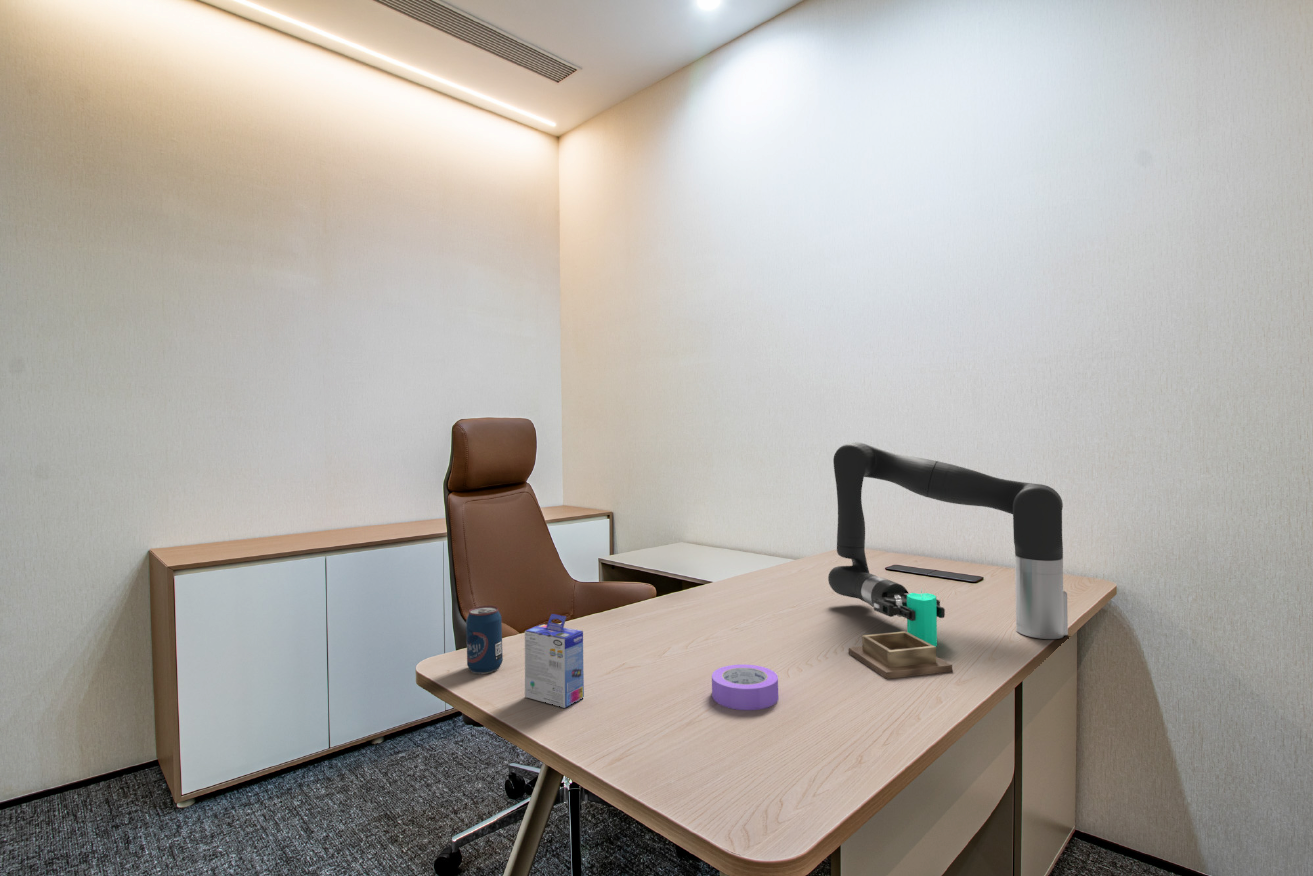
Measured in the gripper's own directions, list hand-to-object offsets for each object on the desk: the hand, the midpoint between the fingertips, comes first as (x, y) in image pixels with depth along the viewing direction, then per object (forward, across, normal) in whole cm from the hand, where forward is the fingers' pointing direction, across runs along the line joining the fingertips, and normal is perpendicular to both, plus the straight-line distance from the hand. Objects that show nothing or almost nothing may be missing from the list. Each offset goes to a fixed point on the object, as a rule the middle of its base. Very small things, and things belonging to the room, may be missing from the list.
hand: (928, 614), depth 135 cm
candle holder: (+6, -11, +7) cm, 14 cm away
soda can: (-13, -92, +7) cm, 93 cm away
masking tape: (+13, -46, +8) cm, 48 cm away
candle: (-2, 0, +7) cm, 8 cm away
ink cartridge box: (+5, -79, +7) cm, 79 cm away
